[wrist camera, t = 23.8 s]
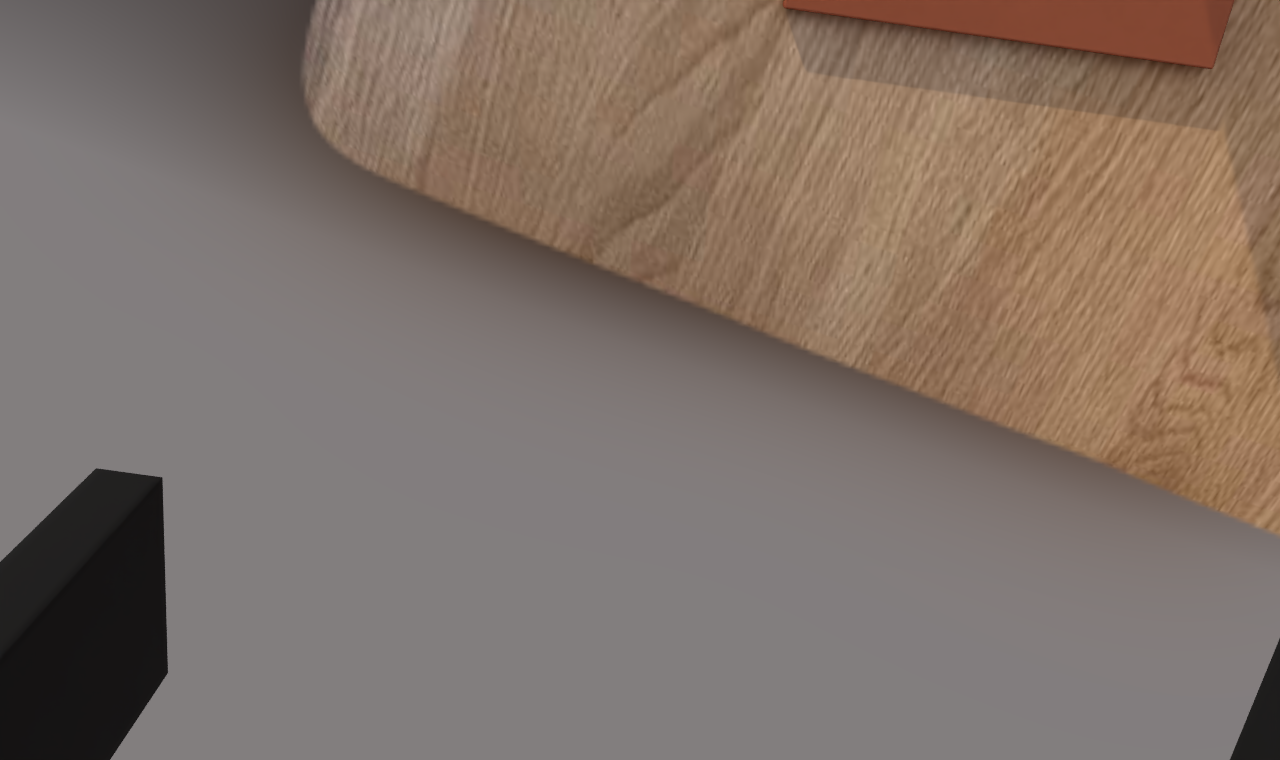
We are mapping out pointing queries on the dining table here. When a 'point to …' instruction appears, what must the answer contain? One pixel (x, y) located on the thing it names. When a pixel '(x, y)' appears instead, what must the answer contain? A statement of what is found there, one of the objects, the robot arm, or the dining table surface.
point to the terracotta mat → (1061, 23)
